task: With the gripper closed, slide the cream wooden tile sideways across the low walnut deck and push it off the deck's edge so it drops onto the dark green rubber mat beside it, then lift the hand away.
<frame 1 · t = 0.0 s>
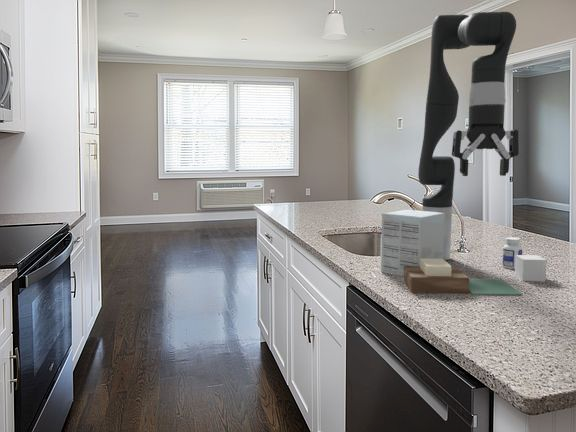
hand: (483, 175, 114), 29 cm above the worktop, fingers open, 8 cm apart
green mat: (487, 287, 128), on the worktop
supplement box: (411, 272, 145), on the worktop
white cube: (529, 279, 137), on the worktop
walnut deck: (434, 286, 129), on the worktop
cream tile: (434, 271, 128), point 4 cm above the worktop, touching walnut deck
pill bottle: (511, 268, 149), on the worktop
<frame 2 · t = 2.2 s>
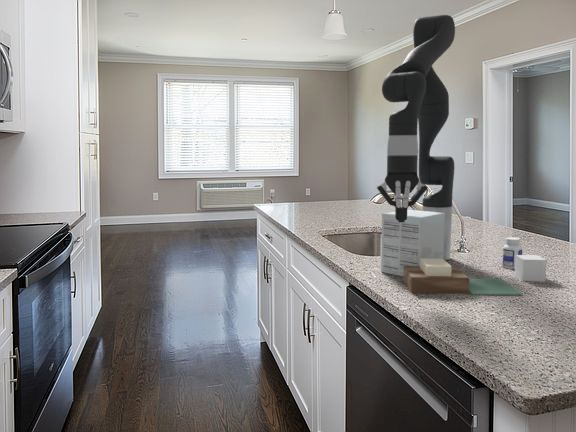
hand: (400, 221, 127), 17 cm above the worktop, fingers closed
nothing on the worktop moved.
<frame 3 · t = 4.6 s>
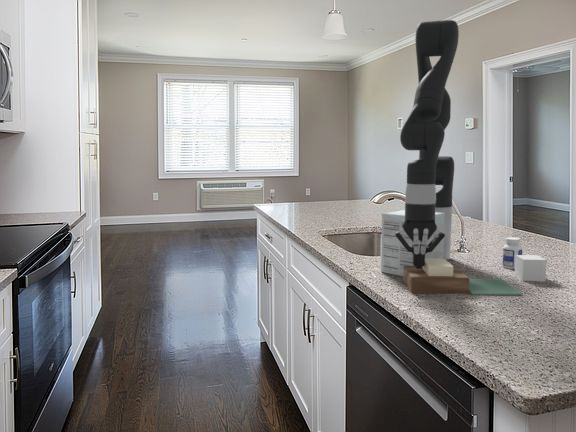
hand: (418, 267, 128), 5 cm above the worktop, fingers closed
cream tile: (436, 271, 128), point 4 cm above the worktop
everything else where it was.
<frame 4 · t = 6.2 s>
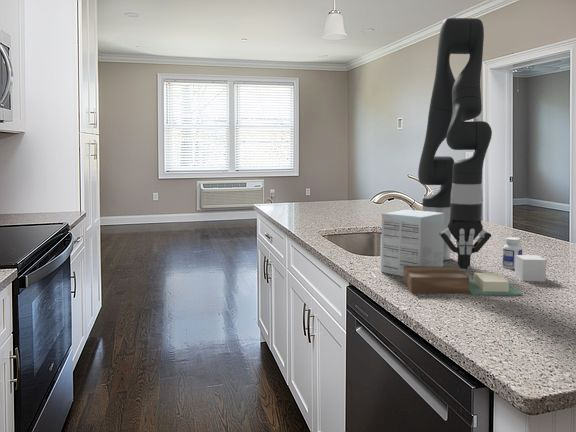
hand: (463, 268, 128), 5 cm above the worktop, fingers closed
cream tile: (490, 277, 127), point 3 cm above the worktop, tilted 180°, touching green mat
everything else where it was.
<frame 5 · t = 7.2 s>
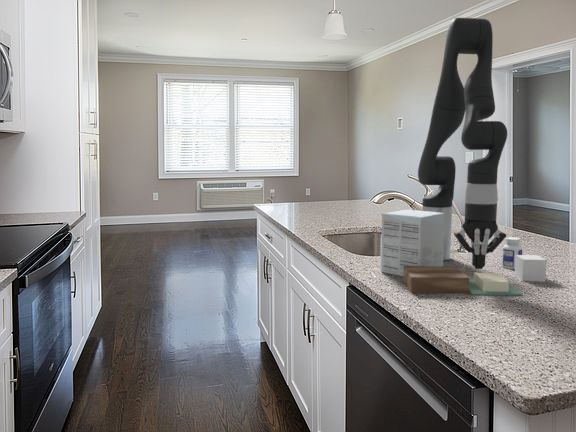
hand: (478, 268, 127), 5 cm above the worktop, fingers closed
nothing on the worktop moved.
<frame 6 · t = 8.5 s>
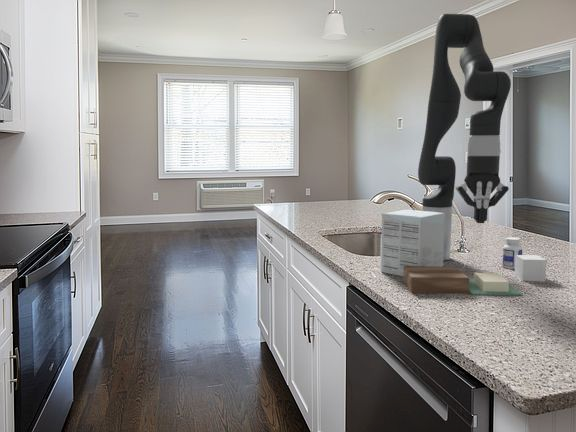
hand: (480, 222, 126), 17 cm above the worktop, fingers closed
nothing on the worktop moved.
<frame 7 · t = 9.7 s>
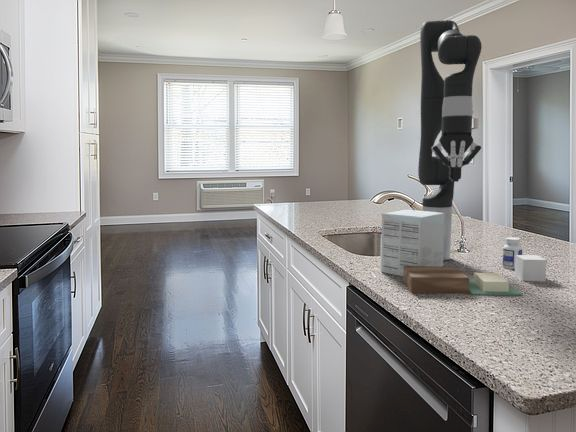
hand: (454, 181, 132), 27 cm above the worktop, fingers closed
nothing on the worktop moved.
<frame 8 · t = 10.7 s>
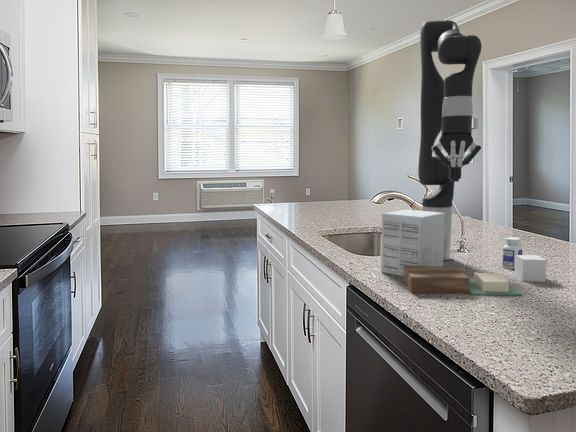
hand: (454, 181, 132), 27 cm above the worktop, fingers closed
nothing on the worktop moved.
at the end: cream tile inside the target area (0.7 cm from its centre), point 2.9 cm above the worktop; cream tile touching green mat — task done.
